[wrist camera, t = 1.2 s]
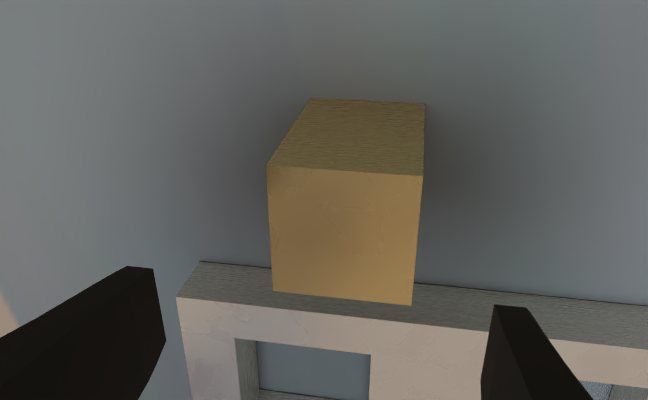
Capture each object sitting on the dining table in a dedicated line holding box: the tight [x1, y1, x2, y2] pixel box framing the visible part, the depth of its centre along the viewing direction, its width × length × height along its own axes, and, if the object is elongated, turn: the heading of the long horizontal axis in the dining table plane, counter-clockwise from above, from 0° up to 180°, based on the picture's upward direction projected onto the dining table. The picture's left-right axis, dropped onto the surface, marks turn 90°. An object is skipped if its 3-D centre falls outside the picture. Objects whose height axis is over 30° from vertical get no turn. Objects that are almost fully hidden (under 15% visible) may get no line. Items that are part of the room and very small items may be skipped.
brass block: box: [266, 98, 425, 306], centre depth 17 cm, size 4×4×6 cm
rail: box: [176, 262, 648, 400], centre depth 23 cm, size 9×20×2 cm, turn 90°
